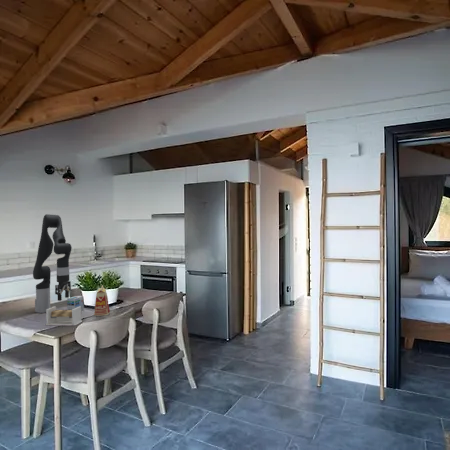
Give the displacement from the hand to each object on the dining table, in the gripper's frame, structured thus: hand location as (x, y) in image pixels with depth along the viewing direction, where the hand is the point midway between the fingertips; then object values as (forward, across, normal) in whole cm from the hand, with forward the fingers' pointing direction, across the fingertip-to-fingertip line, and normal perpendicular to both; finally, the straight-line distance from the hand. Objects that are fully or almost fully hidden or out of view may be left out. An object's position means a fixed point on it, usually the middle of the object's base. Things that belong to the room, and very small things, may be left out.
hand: (63, 299), depth 228 cm
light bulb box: (+16, -29, -8) cm, 34 cm away
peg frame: (+16, 0, 0) cm, 16 cm away
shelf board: (+11, 0, 0) cm, 11 cm away
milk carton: (+16, -23, +15) cm, 32 cm away
